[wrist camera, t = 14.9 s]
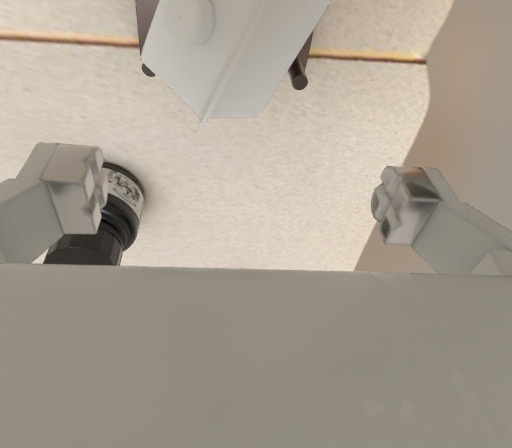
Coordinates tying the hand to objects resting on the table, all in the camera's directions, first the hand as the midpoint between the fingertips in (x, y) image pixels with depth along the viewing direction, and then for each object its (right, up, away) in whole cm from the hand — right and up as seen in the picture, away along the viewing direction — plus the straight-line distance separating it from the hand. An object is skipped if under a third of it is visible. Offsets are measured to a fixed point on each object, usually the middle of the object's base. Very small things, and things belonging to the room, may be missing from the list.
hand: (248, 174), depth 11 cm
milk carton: (-2, +19, +18) cm, 26 cm away
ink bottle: (-18, +3, +35) cm, 39 cm away
